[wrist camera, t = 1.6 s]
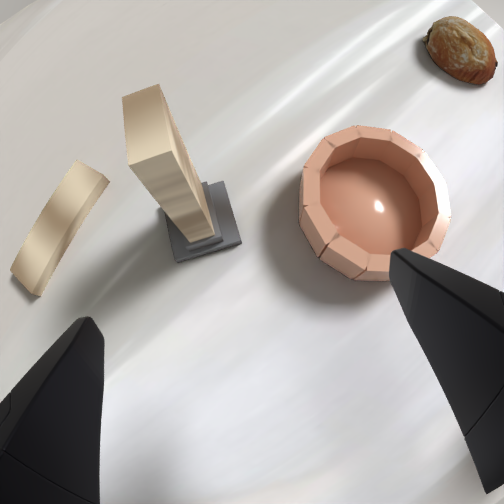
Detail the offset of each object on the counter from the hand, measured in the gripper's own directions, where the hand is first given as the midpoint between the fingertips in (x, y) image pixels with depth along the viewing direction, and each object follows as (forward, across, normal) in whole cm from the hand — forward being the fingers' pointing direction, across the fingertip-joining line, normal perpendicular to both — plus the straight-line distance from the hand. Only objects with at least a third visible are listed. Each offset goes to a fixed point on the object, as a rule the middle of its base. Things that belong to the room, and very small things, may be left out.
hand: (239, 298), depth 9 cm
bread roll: (+28, -32, -6) cm, 42 cm away
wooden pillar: (+16, +3, +5) cm, 16 cm away
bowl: (+14, -10, +6) cm, 19 cm away
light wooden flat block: (+18, +16, +3) cm, 24 cm away
